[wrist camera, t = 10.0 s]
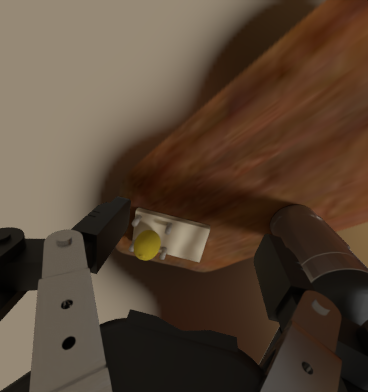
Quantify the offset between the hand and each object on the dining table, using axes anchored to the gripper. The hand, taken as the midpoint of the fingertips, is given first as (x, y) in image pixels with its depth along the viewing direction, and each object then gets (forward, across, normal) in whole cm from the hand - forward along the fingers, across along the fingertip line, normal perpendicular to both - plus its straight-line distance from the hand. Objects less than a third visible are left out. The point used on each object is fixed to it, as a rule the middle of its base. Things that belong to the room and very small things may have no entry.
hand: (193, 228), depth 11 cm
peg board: (+28, +3, +22) cm, 36 cm away
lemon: (+27, +7, +22) cm, 35 cm away
